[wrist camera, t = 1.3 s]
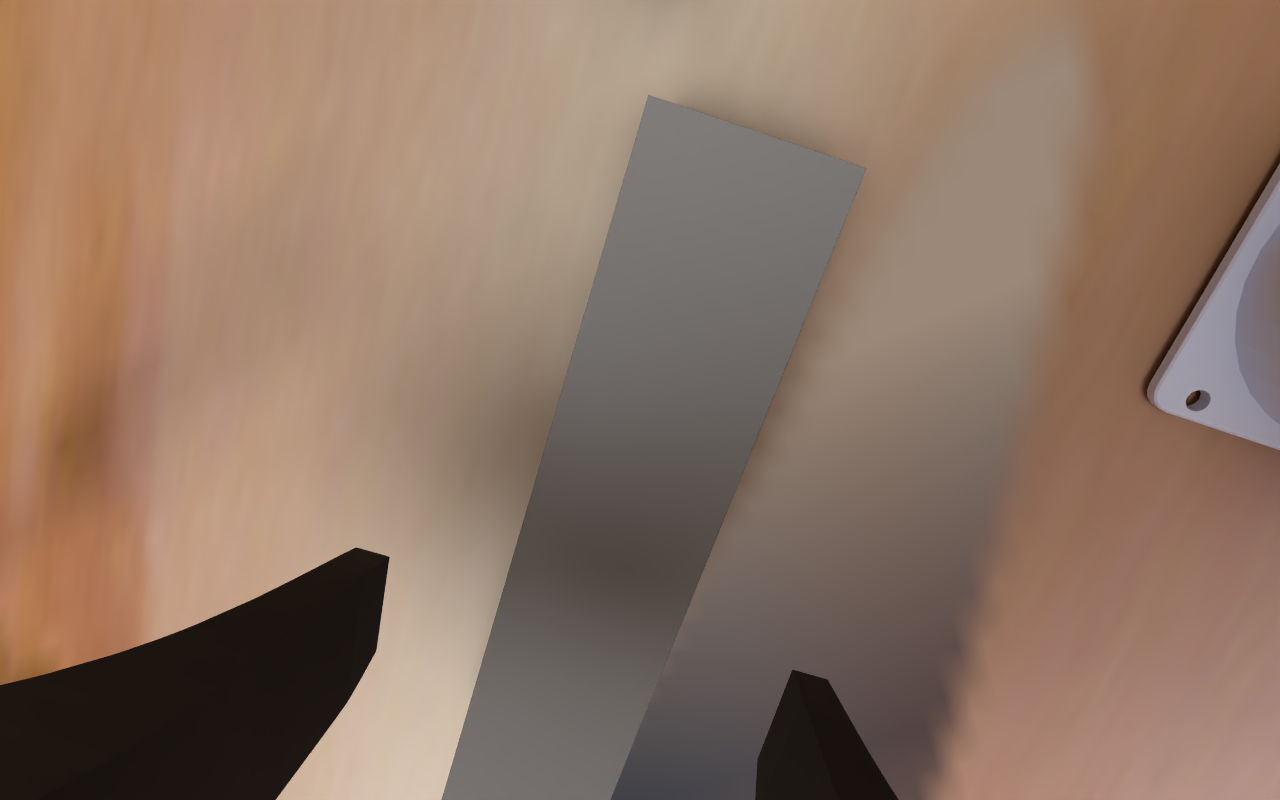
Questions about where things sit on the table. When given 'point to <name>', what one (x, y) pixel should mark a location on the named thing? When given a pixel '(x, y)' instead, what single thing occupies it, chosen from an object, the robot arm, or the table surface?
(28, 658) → the table surface
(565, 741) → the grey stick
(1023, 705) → the table surface
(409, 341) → the table surface
